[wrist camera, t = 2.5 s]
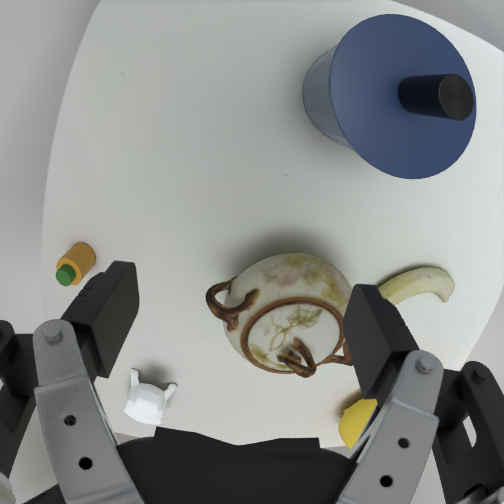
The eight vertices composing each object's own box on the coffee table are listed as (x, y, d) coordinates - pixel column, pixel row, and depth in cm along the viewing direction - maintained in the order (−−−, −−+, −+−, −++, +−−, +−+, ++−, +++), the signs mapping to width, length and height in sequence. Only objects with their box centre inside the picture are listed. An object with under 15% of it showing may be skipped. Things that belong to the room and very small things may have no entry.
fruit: (365, 269, 38) (374, 282, 35) (455, 259, 37) (467, 270, 34) (360, 311, 41) (366, 326, 38) (445, 298, 40) (454, 311, 37)
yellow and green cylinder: (69, 258, 37) (48, 280, 32) (76, 237, 36) (53, 258, 31) (91, 272, 38) (72, 297, 33) (99, 252, 37) (79, 275, 32)
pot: (282, 103, 29) (301, 101, 17) (338, 32, 25) (388, -5, 13) (359, 163, 32) (416, 199, 20) (411, 95, 28) (486, 99, 16)
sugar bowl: (376, 272, 38) (422, 350, 25) (313, 346, 44) (329, 430, 31) (245, 199, 34) (240, 266, 20) (192, 295, 40) (168, 383, 26)
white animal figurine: (170, 393, 55) (184, 377, 44) (160, 431, 49) (171, 426, 38) (130, 378, 53) (132, 358, 42) (118, 416, 47) (116, 406, 37)
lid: (289, 103, 18) (305, 101, 12) (383, -11, 13) (424, -40, 8) (412, 206, 20) (456, 241, 15) (487, 99, 16) (540, 108, 10)
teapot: (387, 357, 46) (412, 421, 34) (435, 372, 49) (460, 424, 37) (320, 417, 54) (329, 475, 42) (372, 426, 57) (385, 475, 45)
